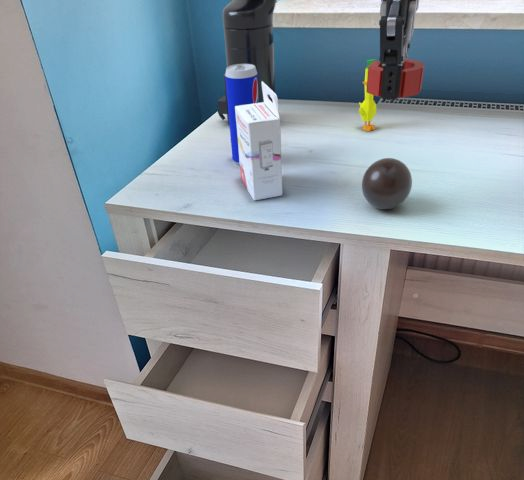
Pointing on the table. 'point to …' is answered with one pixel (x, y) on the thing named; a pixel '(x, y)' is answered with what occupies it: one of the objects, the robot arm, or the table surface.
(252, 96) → the beverage can
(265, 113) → the ink cartridge box
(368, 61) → the toy figure
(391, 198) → the ball
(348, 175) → the table surface
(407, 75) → the ring
